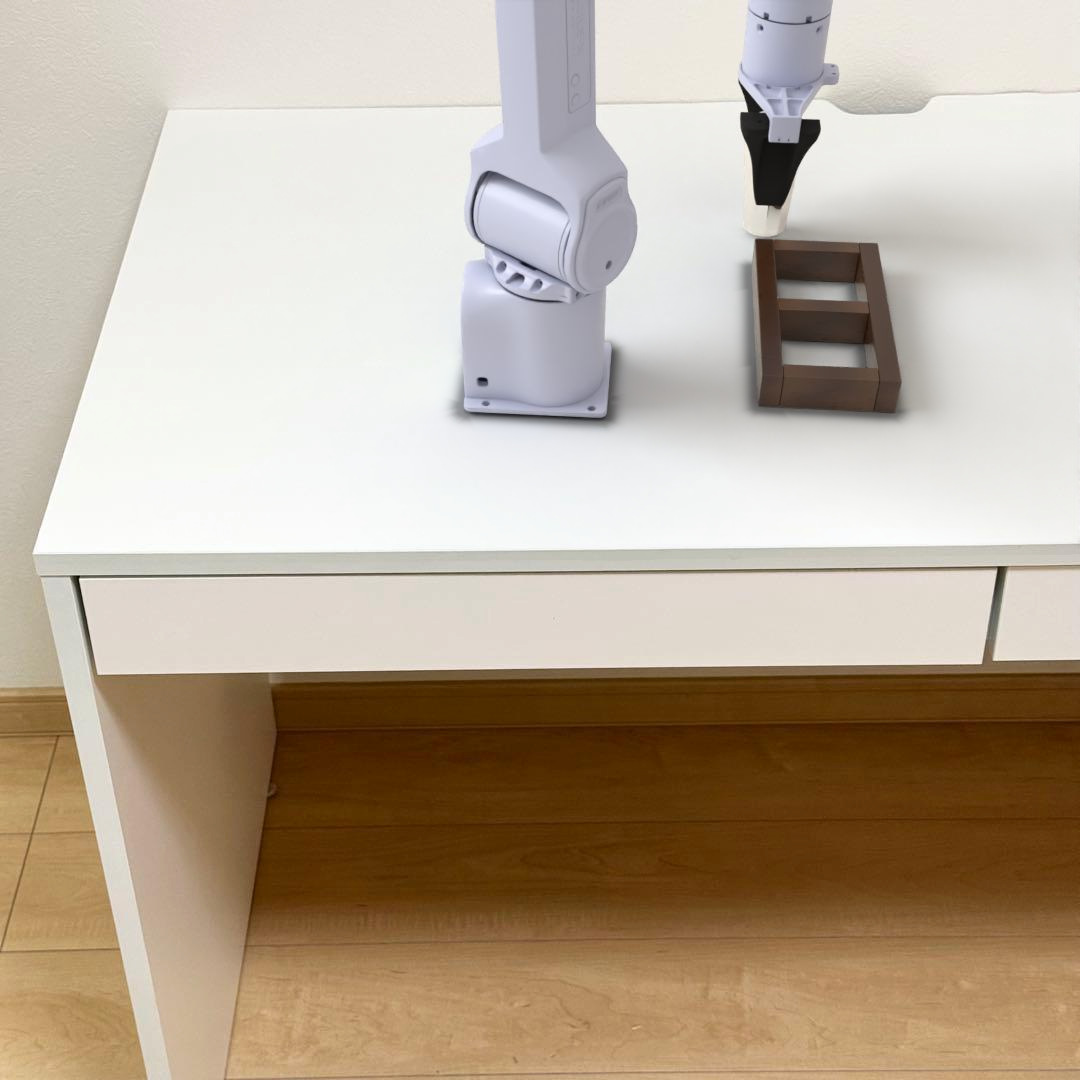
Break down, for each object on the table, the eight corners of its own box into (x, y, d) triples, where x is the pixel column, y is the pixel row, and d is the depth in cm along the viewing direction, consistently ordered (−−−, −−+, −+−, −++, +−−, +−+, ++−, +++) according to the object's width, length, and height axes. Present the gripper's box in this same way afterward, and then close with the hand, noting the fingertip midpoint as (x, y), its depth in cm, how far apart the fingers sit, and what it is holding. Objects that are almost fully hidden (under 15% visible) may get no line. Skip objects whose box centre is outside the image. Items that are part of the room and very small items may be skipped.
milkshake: (792, 206, 107) (808, 86, 100) (794, 243, 103) (812, 120, 96) (734, 204, 107) (746, 84, 100) (734, 240, 104) (747, 118, 97)
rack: (758, 406, 90) (762, 375, 89) (751, 268, 102) (754, 238, 100) (895, 413, 90) (902, 381, 88) (872, 272, 102) (877, 242, 100)
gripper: (857, 55, 88) (827, 237, 97) (840, -34, 98) (815, 139, 108) (747, 52, 88) (728, 234, 98) (742, -36, 99) (726, 136, 108)
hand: (767, 184), depth 103 cm, fingers closed on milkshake, 5 cm apart
